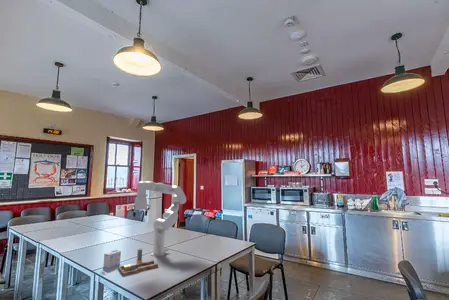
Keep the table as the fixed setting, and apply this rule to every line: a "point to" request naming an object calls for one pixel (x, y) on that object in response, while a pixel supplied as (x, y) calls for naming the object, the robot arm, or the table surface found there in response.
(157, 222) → the robot arm
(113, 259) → the light bulb box
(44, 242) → the table surface
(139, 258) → the gray orange block
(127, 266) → the tan yellow cube
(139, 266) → the slot board
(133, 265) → the dark gray cube
